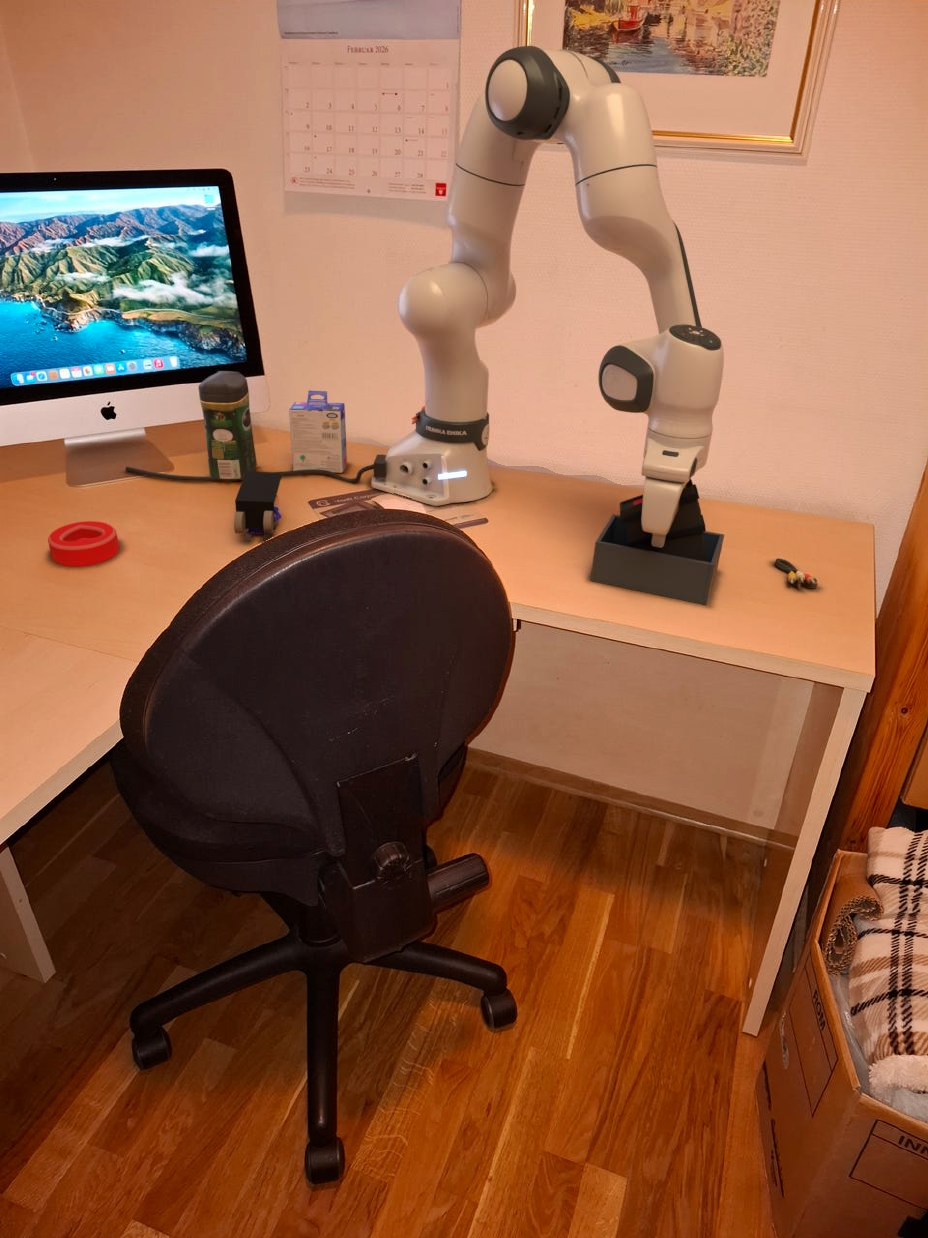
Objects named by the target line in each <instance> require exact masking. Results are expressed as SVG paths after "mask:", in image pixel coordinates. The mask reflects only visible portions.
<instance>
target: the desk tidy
mask: <svg viewBox="0 0 928 1238" xmlns="http://www.w3.org/2000/svg"><path fill="white" fill-rule="evenodd" d="M627 532H628V530H627V528H626V525H625V523H623V524H622V522H621V520H620V514H614V513H613V514H612V515H611V516H610V517H609V519H608V521H607V523H606V525H605V526H604V527H603V529H602V531H601V532H600V534H599V536H598V537H597V539H596V540H595V542H594V550H593V558H592V564H591V565H592V566H591V575H590V582H593V583H594V582H595V583H600V584H604V585H609V586H614V587H619V588H623V589H627V590H633V591H638V592H641V593H647V594H652V595H656V596H661V597H667V598H671V599H676V600H681V601H686V602H689V603H694V604H699V605H704V606H707V604H708V601H709V598H710V594H711V592H712V588H713V584H714V582H715V578H716V575H717V571H718V566H719V562H720V558H721V553H722V548H723V543H724V538H725V533H719V532H712V531H707V530H706V531H704V532H703V535H704V552H703V553H704V557H705V562H704V561H699V560H694V559H689V558H684V557H679V556H674V555H668V554H663V553H658V552H653V551H648V550H643V549H638V548H632V547H630V546H628V545H627Z"/></svg>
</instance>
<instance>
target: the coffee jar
mask: <svg viewBox="0 0 928 1238" xmlns="http://www.w3.org/2000/svg"><path fill="white" fill-rule="evenodd" d="M248 384H249V383H248V379H247V378H246V377H245V376H244V375H243V374H242V373H241V372H239V371H230V370H228V371H227V370H218V371H217V372H216V373H213V374H212V375H209V376H208V377H207V378H205V379H204V380H202V381H201V383H199V384H198V393H199V394H198V395H199V396H198V397H199V403H200V407H201V411H202V416H203V425H204V432H205V441H206V449H207V450H206V451H207V459H208V460H207V463H208V472H209V475H210V476H215V477H217V478H219V479H220V480H221V481H220V482H228V483H229V482H230V483H232V482H237V481H242V480H243V477H244V475H245V472H246V471H254V472H255V470H256V468H257V456H256V455H257V454H256V448H255V441H254V433H253V425H252V420H251V419H252V418H251V417H252V416H251V409H250V392H249V391H250V390H249V385H248Z"/></svg>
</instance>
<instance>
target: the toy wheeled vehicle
mask: <svg viewBox="0 0 928 1238" xmlns="http://www.w3.org/2000/svg"><path fill="white" fill-rule="evenodd" d="M277 472H278V471H255V470H254V471H246V472H245V475H244V477H243V480H241V483H240V485H239V489H238V491H237V495H236V497H235V499H234V503H235V504H234V505H235V512H234V516H233V517H234V518H233V529H234V533H235V534H239V535H241V534H242V535H243V534H245V532H246V534H245V538H244V539H245V541H246V542H251V539H252V534H259V535H260V534H264V535H263V539H262V541H263V542H267V541H268V540H269V536H270V534H273V533H274V531H275V530H276V523H277V522H278V521H279V520H280V519H281V518H282V515H281V513H280V509H279V504H280V501H279V496H278V495H277V494H278V491H279V487H280V483H281V481H282V477H283V476H282V473H277ZM245 530H246V531H245ZM267 539H268V540H267ZM266 540H267V541H266Z"/></svg>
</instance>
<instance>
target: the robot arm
mask: <svg viewBox="0 0 928 1238" xmlns="http://www.w3.org/2000/svg"><path fill="white" fill-rule="evenodd" d="M465 125H466V126H465V128H464V131H463V134H462V137H461V140H460V143H459V147H458V151H457V154H456V160H455V163H454V167H453V171H452V176H451V182H450V185H449V189H448V195H447V198H446V204H445V209H444V220H445V223H446V225H447V227H448V228H449V229H450V231H451V232H450V233H451V254H450V258H449V261H448V263H445V264H441V265H440V264H439V265H435V266H431V267H427V268H424V269H422V270H421V271H419V272H418V273H416V274H415V275H413V276H412V277H410V278H409V279H407V280H406V281H405V282H404V283H403V285H402V286H401V288H400V291H399V293H398V298H397V310H398V315H399V318H400V321H401V323H402V324H403V327H404V328H405V329H406V330H407V331H408V333H410V334H411V335H412V336H413V337H414V338H415V341H416V343H417V345H418V348H419V351H420V355H421V359H422V365H423V370H424V371H423V373H424V406H422V407H421V409H420V411H418V412H416V413H415V415H414V416H412V418H411V420H412V421H411V425H414V424H415V429H414V430H412V431H411V432H410V433H408V434H406V435H405V436H403V437H402V438H401V439H399V440H398V441H397V442H395V443H394V444H393V445H392V446H391V447H390V448H389V449H388V451H387V452H386V454H376V456H375V458H374V461H373V463H372V464H370V465H366V466H364V467H362V468H360V469H359V470H358V472H357V473H356V477H353V478H346V477H344V476H341V475H339V474H337V473H336V472H330V471H326V470H318V469H308V470H295V471H293V470H287V471H286V470H285V471H284V470H283V471H276V472H277V473H282V477H287V476H298V475H299V476H300V475H324V476H329V477H331V478H333V479H336V480H338V481H341V482H345V483H349V484H356V483H358V482H360V480H361V479H362V476H363V474H364V473H366V472H368V471H371V470H373V475H372V477H371V479H370V486H371V488H373V489H376V490H379V491H383V492H386V493H389V494H392V495H395V494H394V493H399V494H404V495H406V496H409V497H411V498H412V499H411V500H413V501H417V502H420V503H423V504H427V505H430V506H433V507H439V506H444V505H449V504H454V503H466V502H474V501H477V500H481V499H483V498H485V497H487V496H489V495H490V494H491V493H492V491H493V485H492V480H491V475H490V470H489V461H488V445H489V440H490V430H491V429H490V428H491V427H490V413H489V412H488V405H489V403H488V402H489V386H490V385H489V383H490V372H489V368H488V366H487V365H486V363H485V362H484V361H483V360H482V359H481V358H480V355H479V352H478V348H477V342H476V332H477V330H478V329H481V328H485V327H487V326H490V325H493V324H495V323H496V322H497V321H498V320H500V319H501V318H502V317H504V316H505V315H506V314H508V312H509V311H510V310H511V309H512V307H513V306H514V303H515V300H516V297H517V284H516V280H515V277H514V275H513V273H512V271H511V252H512V240H513V233H514V229H515V225H516V222H517V217H518V213H519V209H520V206H521V201H522V198H523V194H524V191H525V187H526V183H527V180H528V176H529V173H530V172H529V171H530V168H531V164H532V161H533V158H534V155H535V153H536V152H537V150H538V149H539V147H541V146H542V145H543V144H547V145H565V146H566V148H567V150H568V151H569V154H570V157H571V162H572V168H573V169H572V170H573V178H574V179H573V180H574V187H575V196H576V197H575V198H576V204H577V205H576V206H577V211H578V216H579V219H580V222H581V225H582V228H583V231H584V232H585V234H586V235H587V236H588V237H589V238H590V239H591V240H592V241H593V242H594V243H595V244H596V245H597V246H599V247H600V248H602V249H603V250H606V251H608V252H610V253H612V254H615V255H617V256H620V257H621V258H623V259H625V260H627V261H629V262H630V263H631V264H633V265H634V266H635V267H636V268H638V270H639V271H640V272H641V274H642V275H643V276H644V278H645V280H646V283H647V285H648V290H649V294H650V298H651V299H650V300H651V303H652V308H653V312H654V316H655V320H656V325H657V329H658V334H656V335H654V336H651V337H648V338H644V339H639V340H638V339H637V340H633V341H628V342H627V341H626V342H623V343H620V344H618V345H617V344H616V345H614V346H612V347H610V348H609V349H608V350H607V351H606V353H605V354H604V356H603V358H602V359H601V361H600V364H599V369H598V374H597V375H598V379H597V380H598V388H599V392H600V394H601V396H602V398H603V399H604V402H605V403H607V404H608V406H609V407H611V408H612V409H614V410H615V411H619V412H624V413H630V414H631V413H632V414H633V413H634V414H645V415H646V416H647V418H648V420H647V421H648V422H647V428H646V434H645V439H644V447H643V455H642V457H643V459H642V460H643V461H642V465H641V471H640V474H641V476H643V477H644V482H643V491H642V492H643V493H642V495H643V503H642V519H641V522H642V529H643V531H645V532H649V533H652V534H653V536H652V543H651V544H652V545H653V546H655V547H660V548H661V547H663V546H664V544H665V540H666V535H667V533H668V532H669V529H670V527H671V525H672V522H673V520H674V518H675V516H676V513H677V511H678V508H679V500H680V495H681V493H682V490H683V488H684V486H685V485H686V484H687V483H688V482H689V480H690V479H691V478H692V477H694V476H695V475H696V473H697V472H698V471H699V470H700V469H702V468H704V467H705V466H706V465H707V461H708V457H709V453H710V452H709V451H710V447H711V446H710V445H711V441H712V435H713V430H714V427H713V426H714V425H713V415H714V411H715V408H716V406H717V405H718V402H719V398H720V394H721V388H722V381H723V380H722V379H723V376H724V375H723V374H724V363H725V353H724V347H723V346H724V345H723V342H722V340H721V338H720V337H719V336H718V335H717V334H716V333H715V332H713V331H712V330H710V329H708V328H706V327H703V325H702V322H701V318H700V314H699V313H700V312H699V308H698V304H697V299H696V295H695V289H694V284H693V280H692V275H691V269H690V265H689V261H688V257H687V256H688V255H687V251H686V248H685V245H684V241H683V237H682V234H681V232H680V230H679V228H678V225H677V224H676V223H675V221H674V220H673V219H672V217H671V215H670V213H669V210H668V208H667V205H666V201H665V198H664V195H663V191H662V188H661V183H660V175H659V169H658V160H657V159H658V158H657V152H656V146H655V140H654V135H653V131H652V126H651V122H650V117H649V114H648V111H647V108H646V103H645V101H644V98H643V96H642V95H641V93H640V92H639V90H637V89H636V88H635V87H633V86H631V85H629V84H626V83H622V82H621V79H620V77H619V75H618V73H617V72H616V71H615V70H614V69H613V68H612V67H611V66H610V65H609V64H608V63H606V62H604V61H603V60H601V59H600V58H597V57H593V56H587V55H585V54H582V53H580V52H577V51H573V50H569V49H565V48H563V49H562V48H559V49H555V48H540V47H538V46H535V45H522V46H516V47H513V48H510V49H508V50H505V51H504V52H503V53H501V54H500V55H499V56H498V57H497V58H496V59H495V61H494V62H493V64H492V66H491V67H490V69H489V72H488V75H487V77H486V82H485V88H484V91H483V92H481V94H479V96H478V97H477V99H476V100H475V103H474V105H473V108H472V109H471V112H470V115H469V117H468V120H467V122H466V124H465ZM125 471H126V472H130V473H133V474H134V473H135V474H139V475H143V476H148V477H152V478H153V477H154V478H159V479H167V480H177V481H188V482H189V481H190V482H191V481H192V482H193V481H194V482H222V481H221V480H220V479H219V478H217V477H215V476H207V475H206V476H205V475H204V476H203V475H202V476H201V475H198V476H197V475H179V474H169V473H161V472H154V471H149V470H145V469H140V468H136V467H130V466H125ZM691 480H692V479H691Z"/></svg>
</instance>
